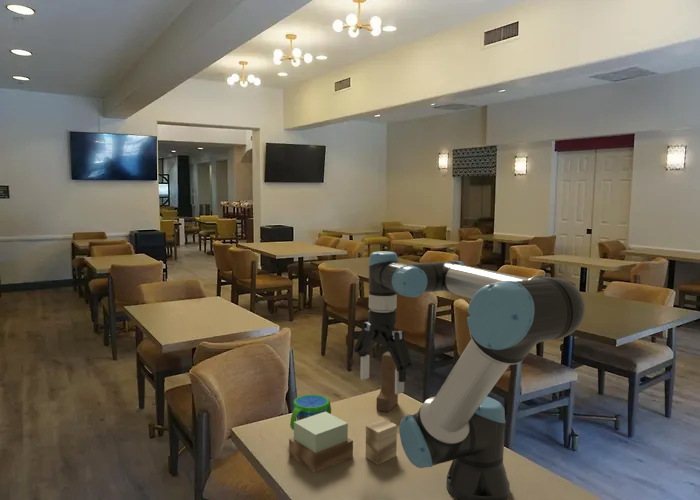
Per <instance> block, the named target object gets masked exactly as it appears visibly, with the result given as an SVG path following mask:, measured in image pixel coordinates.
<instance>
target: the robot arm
mask: <svg viewBox="0 0 700 500" xmlns="http://www.w3.org/2000/svg"><path fill="white" fill-rule="evenodd" d="M368 261H369V262H368V264H369V265H368V308H369V310H368V321H365V322H362V323H361V331H360V333H359V335H358V338H357V341H356V343H355V346H354V349H353V351H354V352H355V353H357V355H358V356H359V367H360V373H359V375H360V377H359V378H360V380H361V381H362V380H366V379H369V378H370V355H369V352H370V351H371V350H372V348H373V347H374V346H375V344H380V345H382V346H384V347H385V348H386V349H387V350H388V352H390V354H391V356H392V358H393V360H394V362H395V364H396V366H397V368H398V369H396V370H395V394H398V395H399V394H402V393H405V382H406V380H407V370H409V369H413V367H414V366H413V363H412V359H411V357H410V354H409V350H408V348H407V344H406V342H405V333H404V331H403V330H398V331H396V330H395V326H396V323H397V317H398V316H397V310H396V309H397V304H398V303H397V302H398V300H397V299H398V297H397V295H399V296H402V297H407V298H418V297H419V296H420V295H422V294H424V293H430V292H431V293H432V292H433V293H435V292H447V293H450V294H455V295H457V296H461V297H464V298H468V299H471V300H469V304H468V308H467V313H468V314H469V316H467V317H466V320H467V327H468V330H469V336H470V338H471V339H470V340H469V342H467V343H468V344H467V345H466V347H465V348H464V350H463V352H462V353H461V355H460V357H458V358H459V359H458V360H457V361H456V363H455V364H454V366H453V367H452V370H450V372H449V374H448V376H447V377H446V379H445V380H444V382H443V384H442V385H441V387H440V388H439V390H438V392H437V393H436V395H435V396H433V397H432V396H431V397H428V398H427V399H425V401H423V403H422V405H421V406H420V408H419V409H418V410H417V412H416V413H413V414H407V415H405V416H403V417H402V418H401V420H400V423H399V428H398V429H399V432H398V433H399V438H400V439H399V440H400V442H401V443H400V444H401V445H402V446H401V447H402V449H403V451H404V453H405V456H406V458H407V459H408V461H409V462H410V463H411V464H412V465H414V466H415V467H416V468H417V469H424V468H432V467H433V466H436V465H437V466H438V465H439V464H444V463H447V462H450V461H451V464H450V467H449V469H448V471H447V475H446V481H445V482H446V483H445V484H446V489H447V492H448V493H449V495H451V496H452V497H453V498H454V499H456V500H508V499H509V497H510V490H511V489H510V488H511V487H510V486H511V485H510V481H509V479H508V476H507V471H506V468H505V464H504V453H505V451H504V448H505V430H506V418H505V414H506V411H505V407H504V405H503V404H502V403H501V401H498V400H497V399H494V398H493V397H490V396H488V395H489V394H490V392H491V391H492V390H493V388H494V387H495V385H497V383H498V381H499V380H500V379H501V377H502V376H503V374H504V373H505V371H506V370H507V368H509V366H511V365H512V366H513V365H517V364H520V363H522V362H523V361H524V360H525V359H526V357H527V356H528V355H529V354H530V352H531V351H532V349H533V348H534V347H535V346H536V345H537V344H538V343H542V342H547V341H554V340H559V339H563V338H566V337H568V336H569V335H571V334H573V333H574V332H575V331H576V330H577V329H578V328H579V327H580V325H581V324H582V322H583V320H584V317H585V313H586V306H585V300H584V297H583V294H582V293H581V292H580V289H578V288H577V287H576V286H575V284H573V283H572V282H570V281H568V280H566V279H563V278H561V277H550V276H544V275H534V276H532V277H530V278H529V277H524V276H519V275H514V274H510V273H509V274H508V273H504V272H498V271H494V270H489V269H485V268H479V267H473V266H470V265H466V264H465V262H463V261H460V260H447V261H435V262H421V263H419V262H417V263H416V262H415V263H401V262H399V259H398V254H397V253H396V252H395V251H386V250H385V251H381V250H380V251H374V252H372V253H370V254H369V260H368Z"/></svg>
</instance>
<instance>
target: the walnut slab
mask: <svg viewBox="0 0 700 500" xmlns="http://www.w3.org/2000/svg"><path fill="white" fill-rule="evenodd" d="M288 440H289V442H288V444H289V445H288V451H289V452H288V455H289V457H291V458H293V459H294V460H296V461H298V462H299V463H300V464H301V465H303V466H304V467H306V468H307V469H309V470H310V471H312V472H313V473H315V474H316V473H318V472H320V471H323V470H325V469H328V468H330V467H332V466H334V465H336V464H339V463H341V462H343V461H346V460H349V459H351V458H353V457H354V440H352V439H351V438H349V437H348V441H345V442H343V443H340V444H337V445H335V446H332V447H330V448H327V449H325V450H322V451H320V452H317V453H315V452H313V451H312V450H310V449H308V448H307V447H305V446H304V445H302V444H301V443H299V442H297V441H296V440H294V437H291V438H289V439H288Z"/></svg>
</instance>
